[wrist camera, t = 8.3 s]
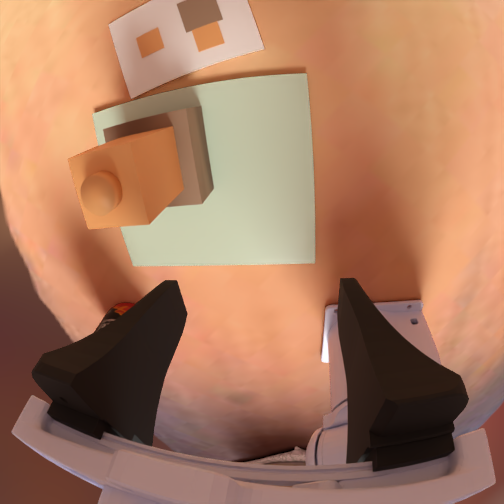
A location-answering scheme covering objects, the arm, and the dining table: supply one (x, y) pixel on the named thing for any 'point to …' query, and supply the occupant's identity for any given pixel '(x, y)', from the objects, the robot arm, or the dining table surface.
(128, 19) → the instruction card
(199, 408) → the dining table surface
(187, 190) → the base block
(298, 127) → the board
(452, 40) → the dining table surface
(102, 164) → the brick
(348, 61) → the dining table surface
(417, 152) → the dining table surface
